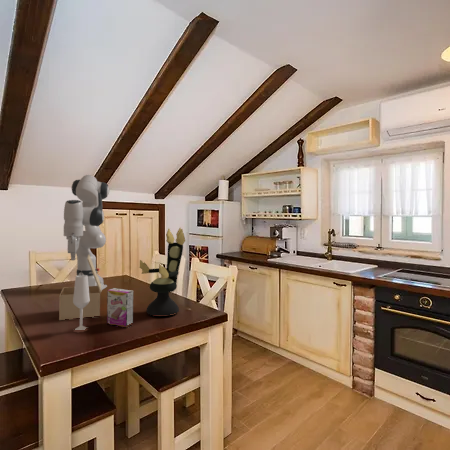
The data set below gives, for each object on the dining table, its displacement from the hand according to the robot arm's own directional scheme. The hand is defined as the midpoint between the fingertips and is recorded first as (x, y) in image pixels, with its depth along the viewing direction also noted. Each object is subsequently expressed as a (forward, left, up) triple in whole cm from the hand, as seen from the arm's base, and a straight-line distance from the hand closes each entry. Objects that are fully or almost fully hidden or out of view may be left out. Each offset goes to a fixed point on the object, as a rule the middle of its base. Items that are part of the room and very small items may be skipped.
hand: (73, 260), depth 160 cm
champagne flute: (+18, +17, -28) cm, 37 cm away
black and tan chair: (-16, +43, -28) cm, 54 cm away
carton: (-2, +3, -28) cm, 28 cm away
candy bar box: (+8, +30, -28) cm, 42 cm away
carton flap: (-5, +8, -7) cm, 12 cm away
